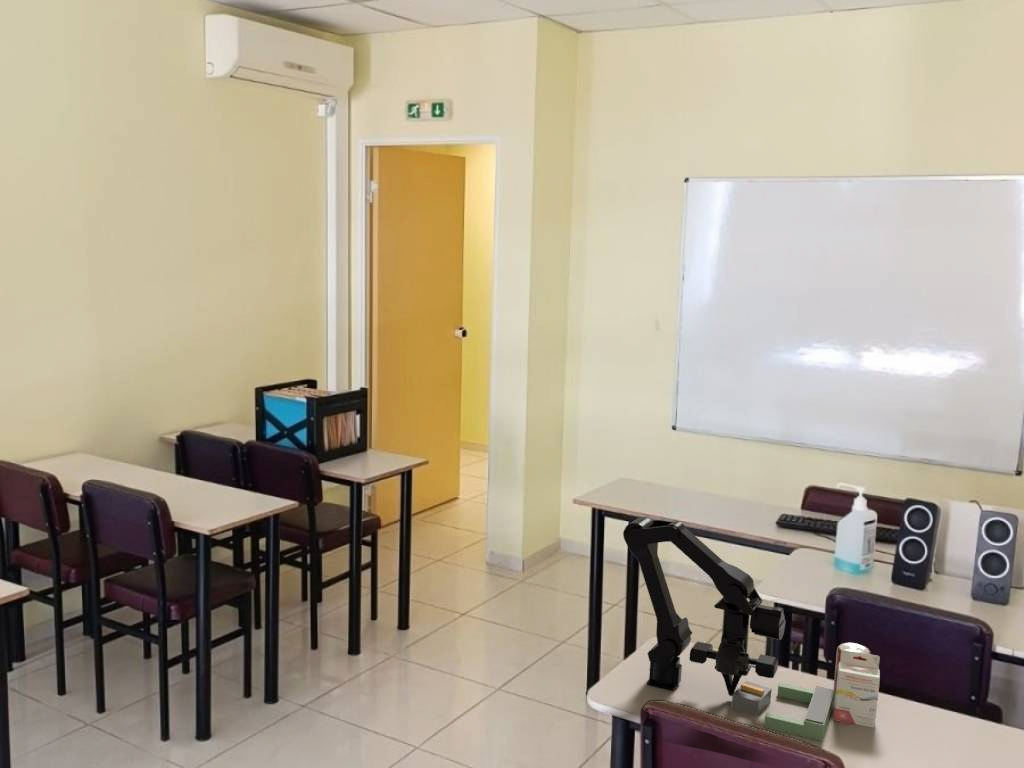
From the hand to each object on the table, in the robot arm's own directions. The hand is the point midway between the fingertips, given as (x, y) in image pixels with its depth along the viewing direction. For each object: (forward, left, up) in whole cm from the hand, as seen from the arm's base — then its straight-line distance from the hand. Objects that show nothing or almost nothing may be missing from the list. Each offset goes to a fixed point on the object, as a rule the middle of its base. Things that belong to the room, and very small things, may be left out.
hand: (731, 695), depth 218 cm
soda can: (+24, +14, -1) cm, 28 cm away
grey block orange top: (+4, 0, -2) cm, 5 cm away
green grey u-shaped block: (+16, 0, -1) cm, 16 cm away
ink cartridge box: (+26, +4, -1) cm, 26 cm away
